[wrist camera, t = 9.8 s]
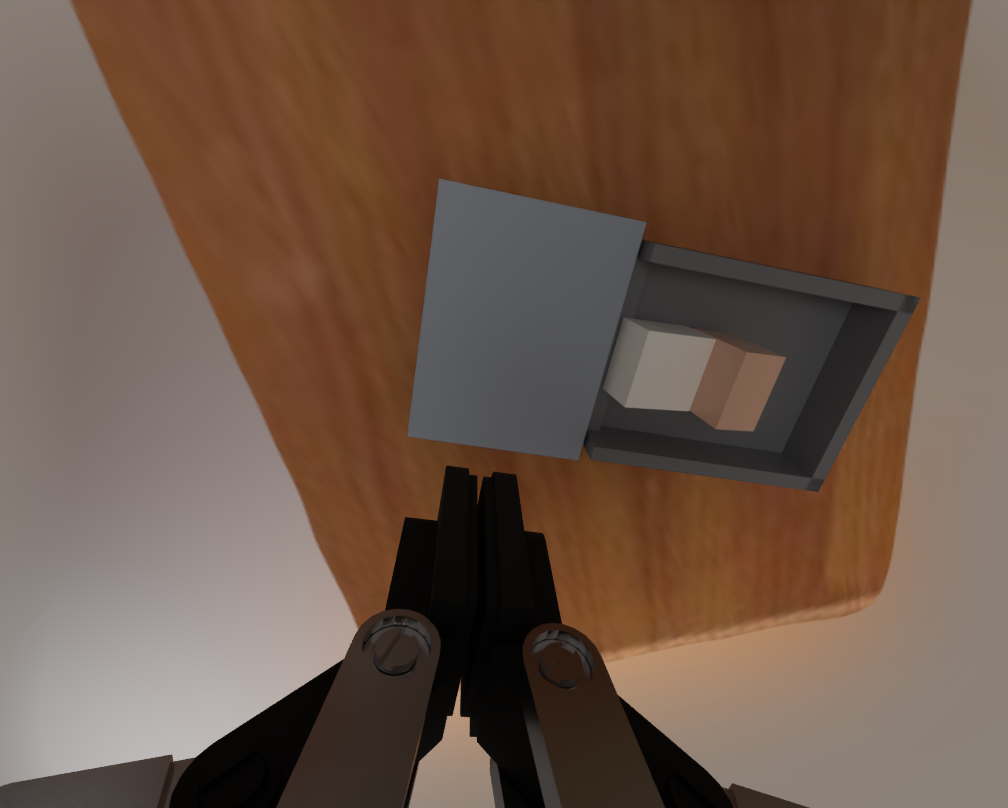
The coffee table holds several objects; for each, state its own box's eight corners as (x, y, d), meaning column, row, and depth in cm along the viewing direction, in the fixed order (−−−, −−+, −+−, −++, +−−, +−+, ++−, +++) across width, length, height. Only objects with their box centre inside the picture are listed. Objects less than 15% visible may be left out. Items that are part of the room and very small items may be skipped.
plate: (442, 180, 28) (439, 178, 26) (633, 220, 30) (646, 222, 27) (411, 420, 34) (407, 436, 32) (571, 443, 36) (578, 460, 33)
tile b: (746, 352, 27) (786, 357, 28) (693, 327, 32) (729, 332, 32) (715, 429, 29) (753, 431, 30) (669, 396, 33) (703, 399, 34)
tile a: (623, 317, 30) (649, 330, 28) (686, 325, 32) (716, 339, 30) (602, 388, 32) (624, 407, 30) (663, 393, 34) (688, 411, 31)
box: (633, 238, 30) (655, 243, 26) (870, 286, 32) (920, 297, 29) (578, 432, 35) (590, 459, 32) (784, 463, 38) (818, 491, 34)
